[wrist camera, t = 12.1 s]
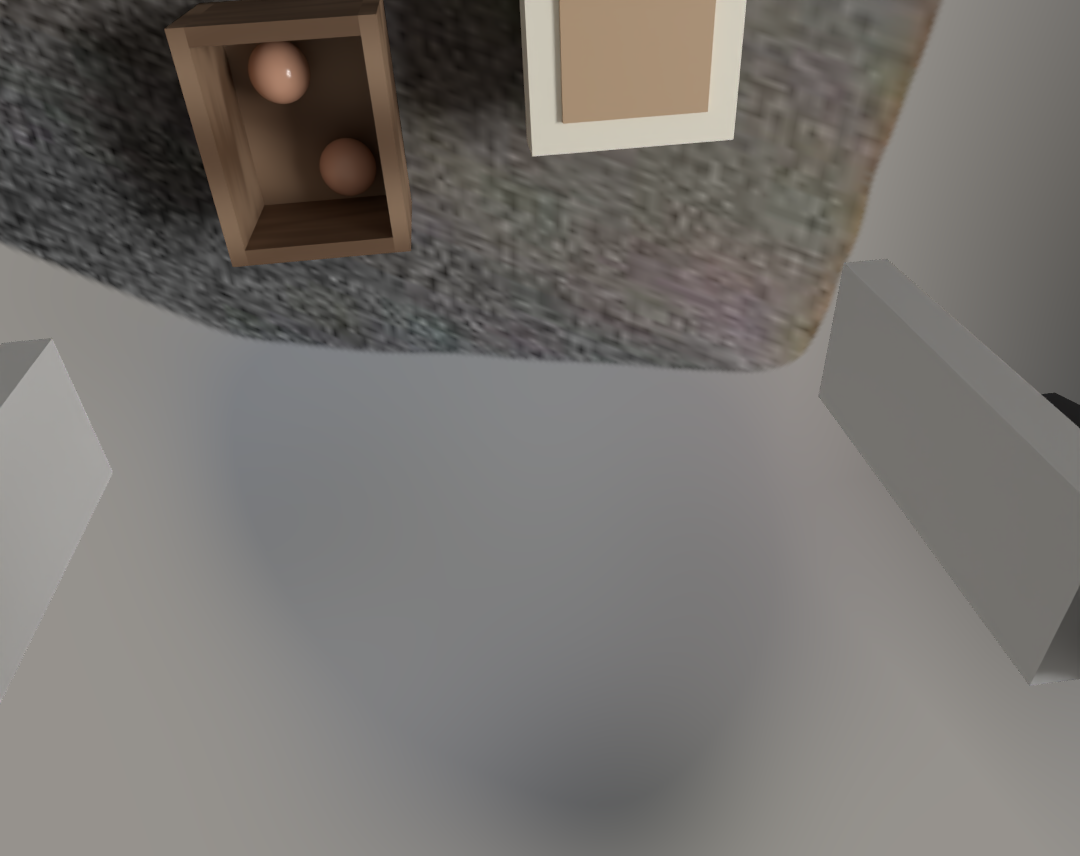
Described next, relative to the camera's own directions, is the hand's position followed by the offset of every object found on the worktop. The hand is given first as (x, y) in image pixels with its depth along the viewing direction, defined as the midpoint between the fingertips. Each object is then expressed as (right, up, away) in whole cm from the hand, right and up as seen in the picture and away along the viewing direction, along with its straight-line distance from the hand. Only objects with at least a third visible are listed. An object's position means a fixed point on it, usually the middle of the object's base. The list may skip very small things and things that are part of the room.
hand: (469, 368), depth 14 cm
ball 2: (-9, +14, +31) cm, 35 cm away
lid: (+5, +19, +24) cm, 31 cm away
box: (-11, +16, +30) cm, 36 cm away
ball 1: (-12, +18, +28) cm, 35 cm away
